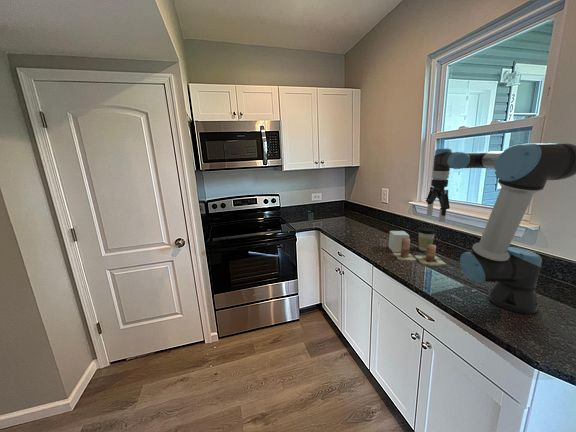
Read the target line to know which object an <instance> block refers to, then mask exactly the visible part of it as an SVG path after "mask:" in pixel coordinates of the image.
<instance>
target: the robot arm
mask: <svg viewBox="0 0 576 432" xmlns="http://www.w3.org/2000/svg"><path fill="white" fill-rule="evenodd" d="M451 169H454V170H460V169H462V170H463V169H492V170H493V169H494V174H495V176H496V178H498V181H497V182H498V184H499V186H500V187H501V188H500V190H499V192H498V195H497V198H496V200H495V203H494V205H493V208H492V210H491V212H490V215H489V216H488V219H487V223H486V224H485V227H484V230H483V232H482V234H481V238H480V240H479V241H478V242H476V243H474V244H473V245H472V247H471V250H470V251H465V252H463V253H462V254H461V255H460V258H459V259H460V260H459V263H460V268H461V271H462V273H463V274H464V276H465V277H466V278H467V279H468V280H470V281H472V282H478V283H479V282H480V283H486V282H487V283H488V282H493V283H494V282H495V283H494V285H493V286H492V287H491V288H490V290H489V292H488V300H489V301H490V302H492V303H493V305H496V306H498V307H500V308H502V309H504V310H507V311H509V310H510V311H509V312H513V311H514V312H513V313H517V312H519V313H518V314H523V313H525V314H524V315H528V314H529V315H533V314H535V313H537V311H538V308H539V304H538V300H537V295H536V288H537V284H538V281H539V276H540V272H541V269H542V262H543V258H542V257H541V256H540V255H539V254H538V253H535V252H533V251H531V250H527V249H523V248H519V247H513V246H511V244H512V241H513V239H514V237H515V235H516V233H517V230H518V228H519V226H520V225H521V222H522V220H523V218H524V216H525V214H526V211H527V209H528V207H529V205H530V203H531V201H532V199H533V197H534V195H535V193H538V192H540V191H542V190H544V188H545V186H546V184H547V182H548V181H560V180H564V179H567V178H571V177H573V176H575V175H576V144H573V143H567V142H558V143H557V142H555V143H554V142H553V143H550V142H549V143H548V142H546V143H542V142H541V143H537V142H536V143H535V142H533V143H532V142H527V143H519V144H514V145H512V146H509V147H508V148H506V149H505V150H504V151H503V150H502V151H501V150H500V151H498V150H497V151H490V150H489V151H456V152H453V149H452V148H437V149H436V150H435V151H434V156H433V165H432V172H431V173H432V174H431V178H432V179H431V182H430V185H431V186H430V187H429V192H428V194H427V197H426V200H425V202H426V204H427V209H426V216H429V217H431V216H433V210H434V202H435V201H436V198H437V200H438V201H439V205H440V207H439V215H438V222H439V223H440V222H441V223H442V222H443V223H444V222H445V221H446V215H447V210H450V201H449V189H445V188H447V187H448V185H449V180H448V179H449V176H450V174H451V173H450V170H451Z"/></svg>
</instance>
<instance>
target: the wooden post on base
mask: <svg viewBox="0 0 576 432" xmlns="http://www.w3.org/2000/svg"><path fill="white" fill-rule="evenodd" d="M410 245H411V238H410V237H409V238H402V245H401V252H392V254H393V255H394V257H395V258H397V259H398V261H417V259H416V258H415V257H414V256H413V255H412V254H411V253H410Z"/></svg>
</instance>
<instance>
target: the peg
mask: <svg viewBox="0 0 576 432" xmlns="http://www.w3.org/2000/svg"><path fill="white" fill-rule="evenodd" d="M436 250H437V245H436V244H427V250H426V251H425V256H426V259H424V260H425V261H427V262H435V261H434V259H435V256H436Z"/></svg>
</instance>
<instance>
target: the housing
mask: <svg viewBox="0 0 576 432" xmlns="http://www.w3.org/2000/svg"><path fill="white" fill-rule="evenodd" d="M388 236H389V237H388V249H389V250H390V251H392V253H401V245H402V238H409V239H410V234H409V233H407V232H406V231H404V230H389V235H388Z"/></svg>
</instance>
